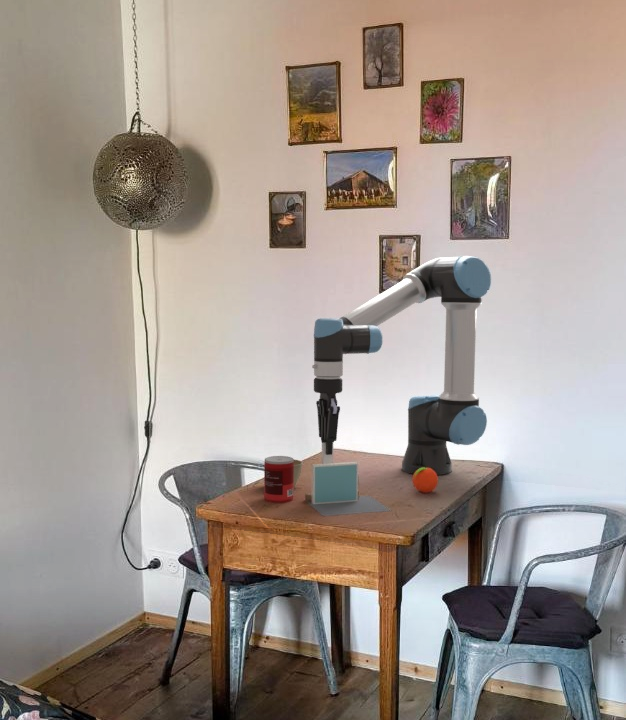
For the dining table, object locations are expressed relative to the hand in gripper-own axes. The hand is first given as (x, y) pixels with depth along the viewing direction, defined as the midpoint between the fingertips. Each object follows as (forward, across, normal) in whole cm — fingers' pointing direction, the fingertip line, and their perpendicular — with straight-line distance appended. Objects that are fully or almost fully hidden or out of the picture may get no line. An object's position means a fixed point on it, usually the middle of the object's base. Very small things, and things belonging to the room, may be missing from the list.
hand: (327, 466), depth 219 cm
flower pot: (+9, -14, -8) cm, 18 cm away
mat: (+9, +10, +2) cm, 13 cm away
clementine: (+9, +2, +27) cm, 29 cm away
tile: (+8, +6, 0) cm, 10 cm away
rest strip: (+8, +4, 0) cm, 9 cm away
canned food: (+9, -1, -13) cm, 16 cm away
